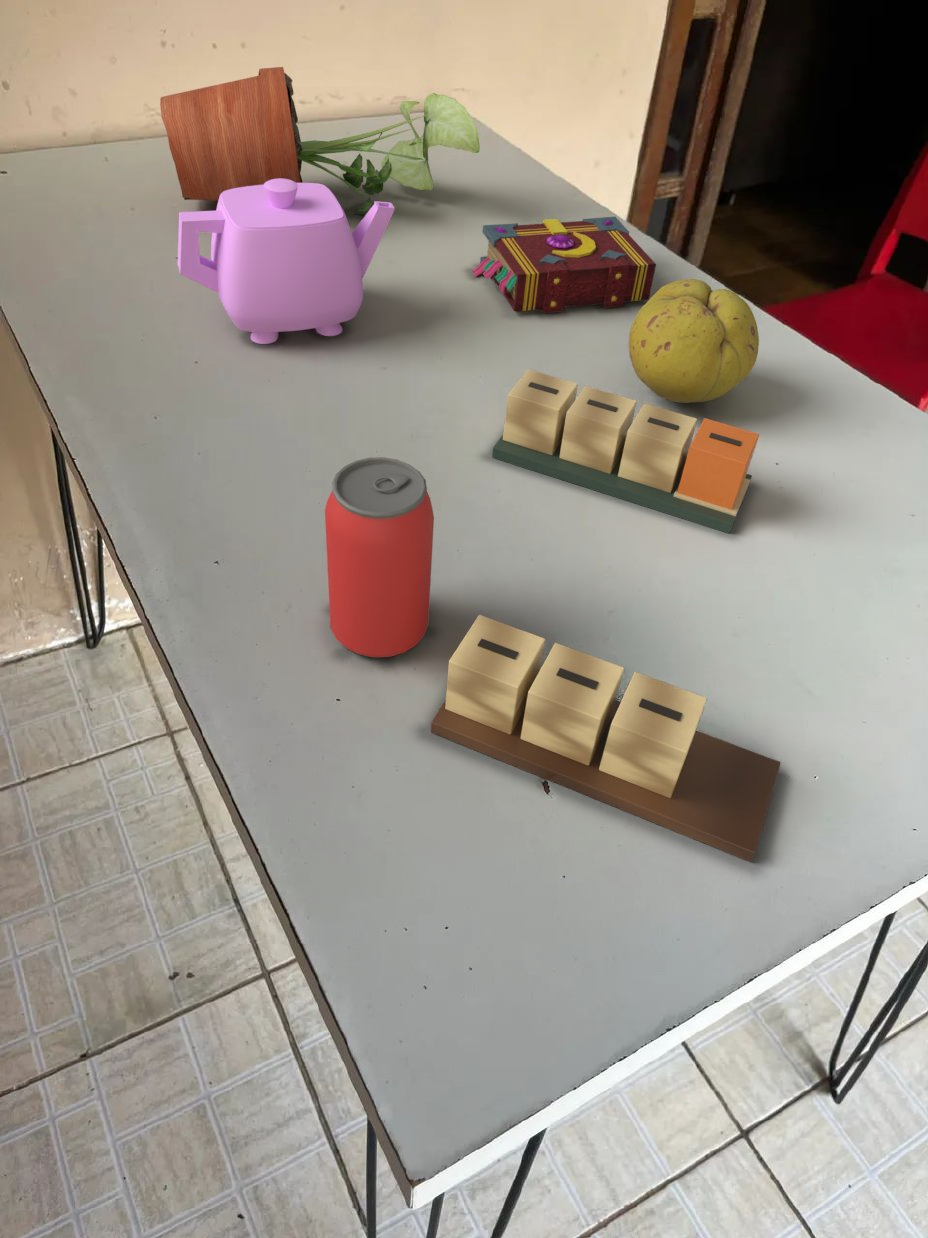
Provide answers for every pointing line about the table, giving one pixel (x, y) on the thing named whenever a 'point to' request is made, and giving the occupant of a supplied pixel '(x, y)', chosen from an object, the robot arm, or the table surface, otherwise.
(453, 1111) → the table surface
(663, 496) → the slotted cube rack
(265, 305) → the teapot
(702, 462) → the orange slotted cube
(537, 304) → the decorative book
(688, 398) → the fruit
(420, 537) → the beer can
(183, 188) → the potted plant
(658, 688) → the slotted cubes on board
